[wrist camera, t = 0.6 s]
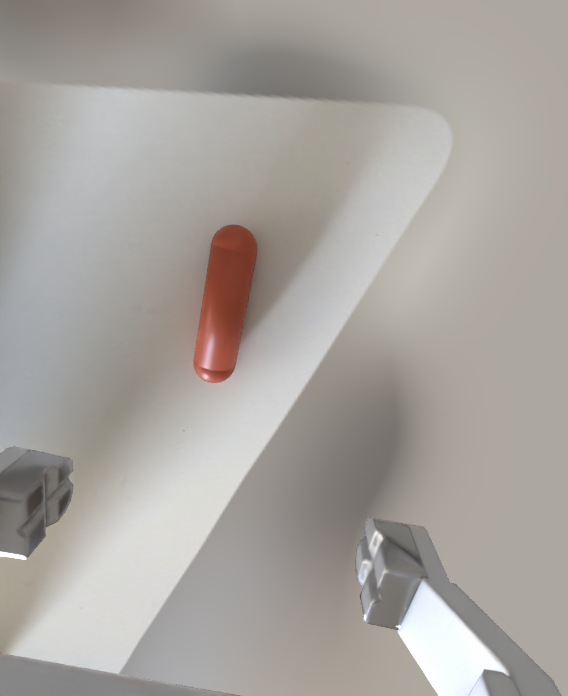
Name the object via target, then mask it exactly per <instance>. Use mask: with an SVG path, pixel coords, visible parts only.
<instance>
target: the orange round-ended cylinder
mask: <svg viewBox="0 0 568 696" xmlns="http://www.w3.org/2000/svg"><path fill="white" fill-rule="evenodd" d="M256 256H257V244H256V240H255V238H254V236H253V235H252V234H251V232H250V231H249V230H247V229H246V228H244V227H242V226H239V225H228V226H224V227H223V228H221V229H220V230H218V231H217V233H216V234H215V235H214V237H213V239H212V243H211V250H210V256H209V263H208V269H207V276H206V283H205V289H204V296H203V302H202V309H201V316H200V322H199V329H198V335H197V342H196V349H195V355H194V368H195V371H196V373H197V374H198V375H199V377H200V378H202V379H203V380H205V381H207V382H211V383H218V382H222V381H224V380H226V379H227V378H229V377H230V375H231V374H232V373H233V371H234V369H235V365H236V360H237V355H238V349H239V344H240V339H241V334H242V328H243V323H244V318H245V313H246V308H247V302H248V297H249V292H250V287H251V282H252V276H253V271H254V266H255V261H256Z"/></svg>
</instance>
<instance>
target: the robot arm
mask: <svg viewBox="0 0 568 696" xmlns="http://www.w3.org/2000/svg"><path fill="white" fill-rule="evenodd" d="M72 472H73V460H71V459H70V458H67V457H62V456H58V455H53V454H49V453H44V452H40V451H35V450H29V449H24V448H20V447H16V446H13V447H9V448H7V449H5V450H4V451H3V452H1V453H0V556H7V557H13V558H19V559H27V558H28V557H29V556H30V554H31V553H32V552H33V551H34V550H35V548H36V547H37V546H38V545H39V543H40V542H41V541H42V540H43V539H44V537H45V536H46V534H45V528H46V527H48V526H50V525H52V524H54V523H56V522H58V520H59V519H60V518H61V517H62V515H63V514H64V513H65V511H66V509H67V507H68V505H69V503H70V501H71V497H72V493H73V484H72V482H71V481H70V480H69V478H68V476H69V475H70V474H71V473H72ZM364 529H365V534H366V536H365V537H364V538H362V539H361V540H360V541H359V544H358V547H357V550H356V558H355V567H356V575H357V580H358V581H359V582H360V583H361V585H362V586H363V589H362V592H361V594H360V600H361V605H362V611H363V617H364V622H365V623H368V624H372V625H377V626H381V627H386V628H391V629H395V630H398V633H399V635H400V636H401V638H402V639H403V641H404V643H405V644H406V646H407V647H408V649H409V650H410V652H411V654H412V655H413V657H414V658H415V660H416V661H417V663H418V664H419V666H420V667H421V669H422V671H423V672H424V674H425V675H426V677H427V678H428V680H429V681H430V683H431V684H432V686H433V688H434V689H435V691H436V692H437V694H438V695H439V696H561V693H560V692H559V690H558V688H557V686H556V685H555V683H554V681H553V680H552V679H551V678H550V677H549V676H548V675H547V674H546V673H545V672H544V671H543V670H542V669H541V668H540V667H539V666H538V665H537V664H536V663H535V662H534V661H533V660H532V659H531V658H530V657H529V656H528V655H527V654H526V653H525V652H524V651H523V650H522V649H521V648H520V647H519V646H518V645H517V644H516V643H515V642H514V641H513V640H512V639H511V638H510V637H509V636H508V635H507V634H506V633H505V632H504V631H503V630H502V629H501V628H500V627H499V626H498V625H497V624H496V623H494V621H493V620H492V619H491V618H490V617H489V616H487V614H486V613H485V612H484V611H483V610H482V609H480V607H478V605H477V604H476V603H475V602H474V601H472V600H471V599H470V598H469V597H468V596H467V595H466V594H465V593H464V592H463V591H462V590H461V589H460V588H459V587H458V586H457V585H456V584H454V583H450V582H449V579H448V577H447V575H446V572H445V570H444V568H443V566H442V563H441V561H440V559H439V556H438V554H437V552H436V550H435V548H434V545H433V543H432V540H431V538H430V536H429V534H428V531H427V530H426V529H425V528H424V527H421V526H416V525H410V524H403V523H398V522H392V521H388V520H382V519H377V518H372V517H370V518H369V519H368V520H367V522H366V524H365V527H364ZM0 696H238V695H233V694H227V693H222V692H216V691H211V690H205V689H199V688H194V687H188V686H183V685H177V684H171V683H165V682H160V681H154V680H148V679H143V678H138V677H132V676H126V675H121V674H115V673H109V672H104V671H98V670H93V669H87V668H81V667H76V666H70V665H64V664H59V663H53V662H48V661H42V660H36V659H31V658H25V657H20V656H14V655H8V654H3V653H0Z"/></svg>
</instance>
